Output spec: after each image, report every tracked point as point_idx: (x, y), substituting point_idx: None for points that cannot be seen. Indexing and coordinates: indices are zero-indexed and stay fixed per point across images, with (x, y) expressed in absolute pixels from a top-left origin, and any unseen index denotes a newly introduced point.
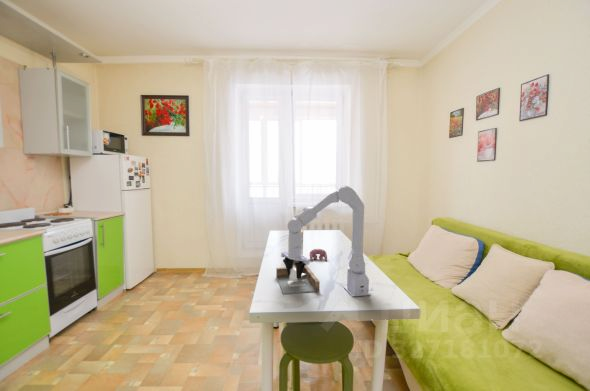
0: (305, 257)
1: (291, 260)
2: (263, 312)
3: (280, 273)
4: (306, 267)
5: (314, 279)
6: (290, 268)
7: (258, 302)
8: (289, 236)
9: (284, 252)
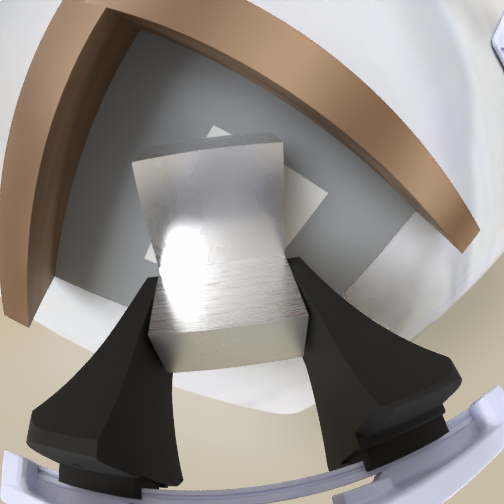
0: (478, 472)
1: (142, 450)
2: (312, 406)
3: (43, 277)
4: None
5: (448, 230)
6: (179, 371)
7: (256, 406)
8: None
9: (11, 499)
